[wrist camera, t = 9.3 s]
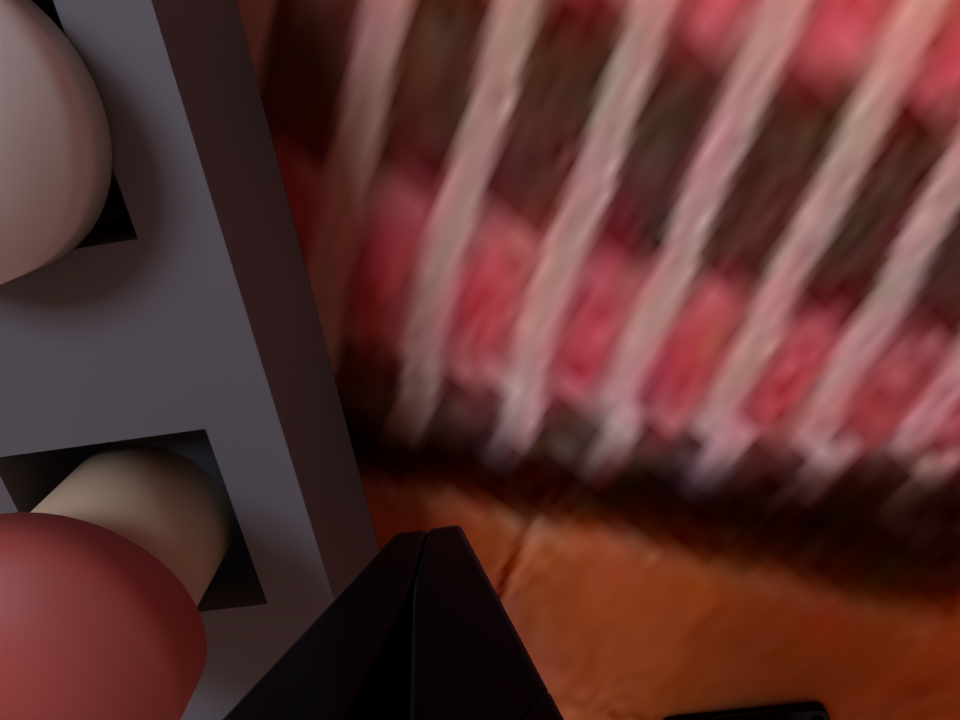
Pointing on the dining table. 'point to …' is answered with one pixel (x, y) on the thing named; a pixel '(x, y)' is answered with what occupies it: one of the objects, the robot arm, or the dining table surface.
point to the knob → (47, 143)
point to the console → (191, 333)
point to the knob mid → (110, 589)
